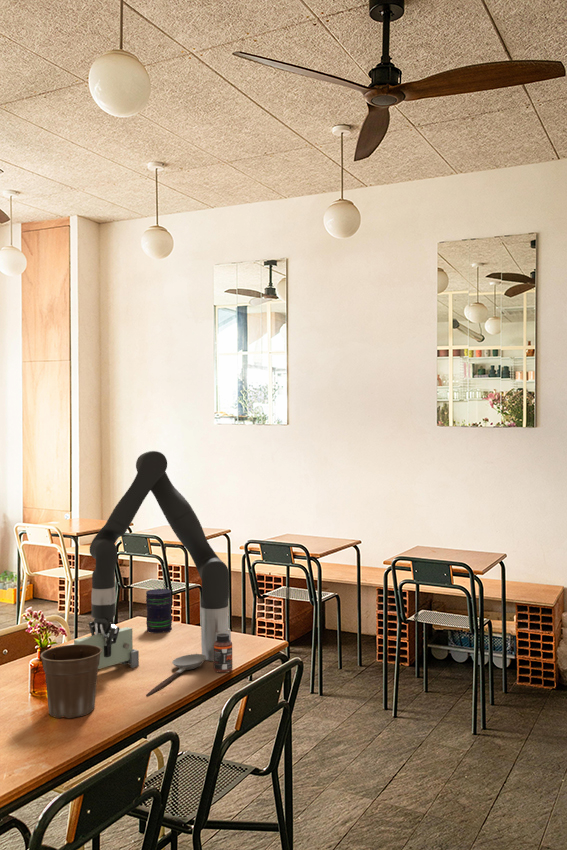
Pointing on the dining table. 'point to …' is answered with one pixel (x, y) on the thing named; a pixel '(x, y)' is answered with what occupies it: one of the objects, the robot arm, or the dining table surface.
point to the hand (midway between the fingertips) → (104, 655)
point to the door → (112, 647)
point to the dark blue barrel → (158, 610)
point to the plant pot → (71, 679)
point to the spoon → (181, 668)
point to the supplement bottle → (223, 653)
